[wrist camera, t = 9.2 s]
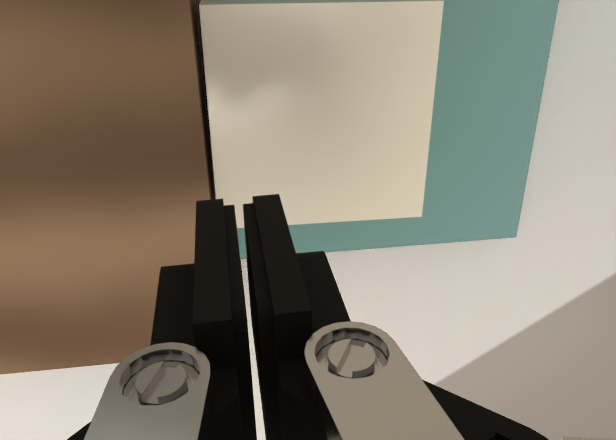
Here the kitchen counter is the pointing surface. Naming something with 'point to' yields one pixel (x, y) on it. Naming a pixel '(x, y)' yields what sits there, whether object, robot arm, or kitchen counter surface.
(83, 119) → the board
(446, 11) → the mat
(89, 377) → the kitchen counter surface
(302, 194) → the tile
